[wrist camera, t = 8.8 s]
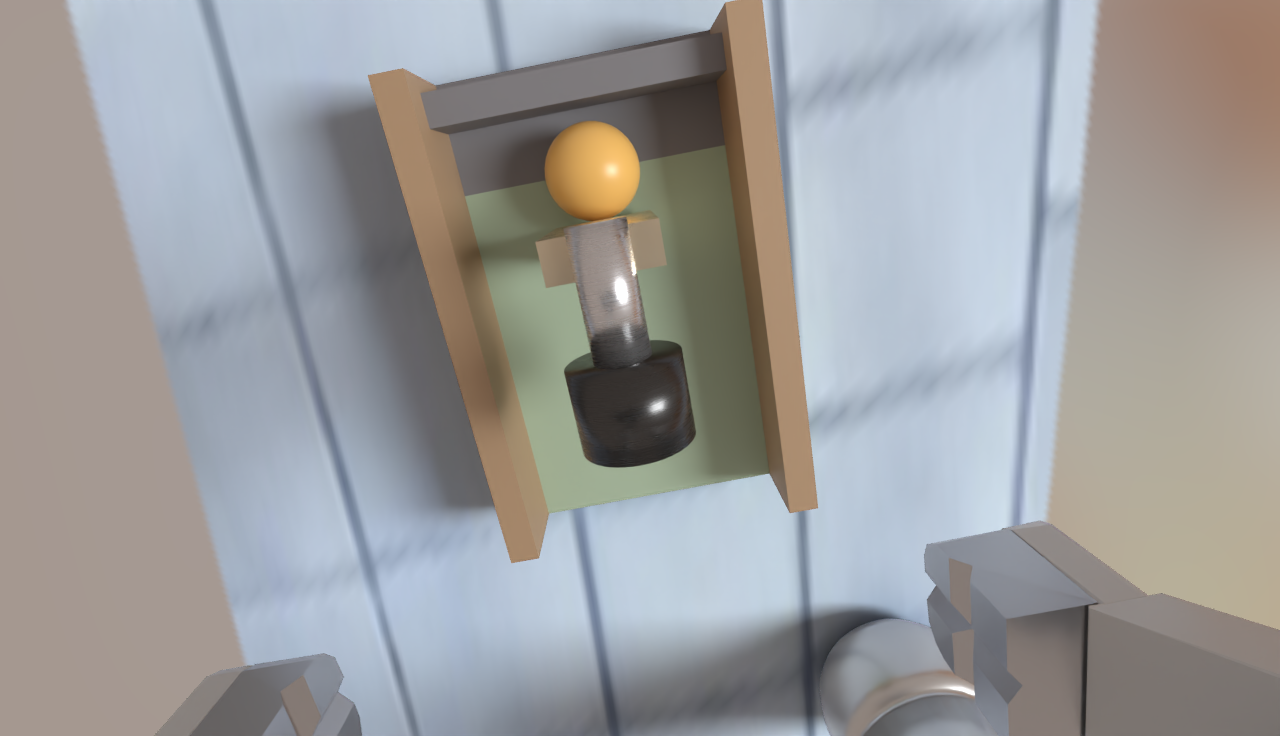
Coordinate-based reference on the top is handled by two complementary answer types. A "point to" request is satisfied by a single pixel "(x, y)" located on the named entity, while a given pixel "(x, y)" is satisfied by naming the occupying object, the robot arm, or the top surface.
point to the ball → (592, 170)
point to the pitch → (671, 294)
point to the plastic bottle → (896, 685)
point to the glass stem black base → (619, 343)
